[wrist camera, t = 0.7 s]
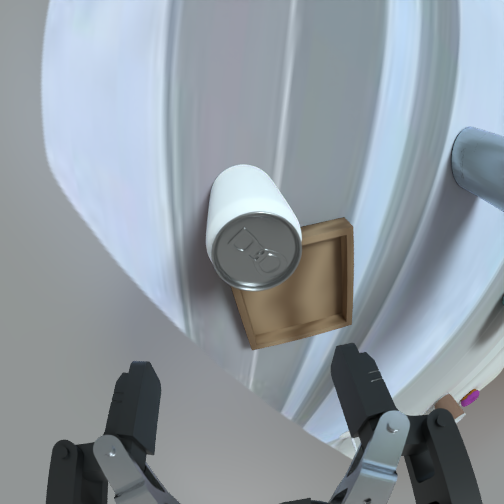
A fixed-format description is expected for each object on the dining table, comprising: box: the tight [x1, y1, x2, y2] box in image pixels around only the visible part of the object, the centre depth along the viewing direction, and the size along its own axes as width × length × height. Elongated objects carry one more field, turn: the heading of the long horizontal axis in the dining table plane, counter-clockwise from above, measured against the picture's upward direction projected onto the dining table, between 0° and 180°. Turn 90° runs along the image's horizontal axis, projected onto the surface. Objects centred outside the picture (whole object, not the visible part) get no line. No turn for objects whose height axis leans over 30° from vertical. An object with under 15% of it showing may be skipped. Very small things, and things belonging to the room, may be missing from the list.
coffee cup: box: [434, 393, 466, 423], centre depth 64 cm, size 10×10×12 cm
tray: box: [231, 217, 354, 350], centre depth 32 cm, size 14×15×2 cm
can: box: [206, 165, 302, 291], centre depth 22 cm, size 6×6×12 cm
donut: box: [461, 389, 479, 407], centre depth 78 cm, size 10×10×4 cm
